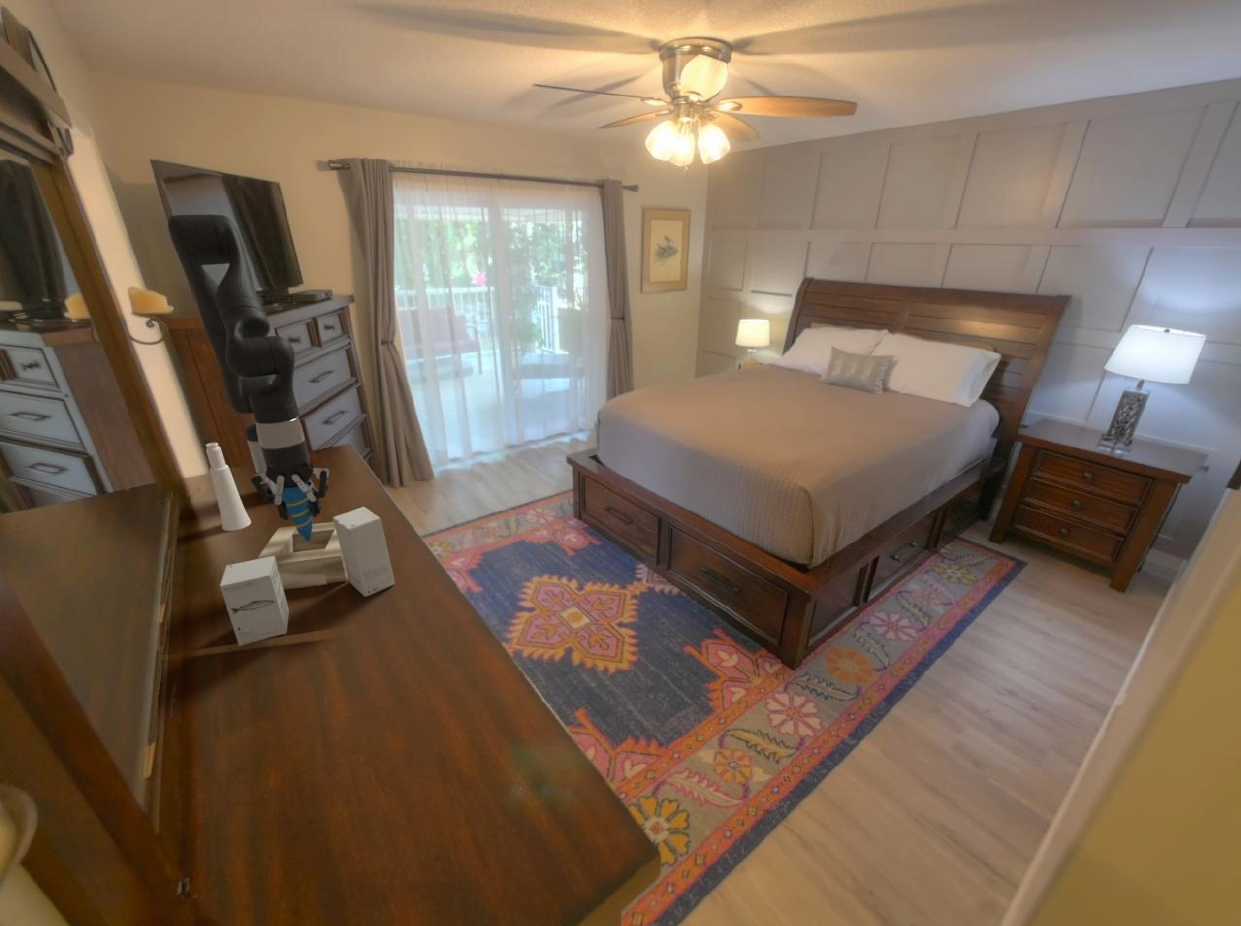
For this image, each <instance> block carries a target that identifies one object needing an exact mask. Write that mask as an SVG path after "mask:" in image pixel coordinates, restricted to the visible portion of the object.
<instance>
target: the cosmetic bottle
mask: <svg viewBox="0 0 1241 926" xmlns="http://www.w3.org/2000/svg"><path fill="white" fill-rule="evenodd" d="M205 447H206V449H205V451H206V454H207V458H208V461H209V464H210V465H209V466H210V468H209V473H210V477H211V482H212V485H213V489H214V492H215V495H216V500H217V501H216V502H217V504H218V509H219V514H220V520H221V529H222V530H223V531H226V532H232V531H238V530H242V529H245V528H246V527H249V526H250V525H251V523H252V520H251V519H250V517H249V515H248V513H247V511H246V508H245V507H244V504H243V501H242V499H241V497H240V494H239V491H238V488H237V485H236V483H235V480H234V478H233V475H232V472H231V469H230V467H229V465H228V464H226V461H225V458H224V455H223V452H222V448H221V447H220V446H219V443H218V442H210V443H207V444H205Z"/></svg>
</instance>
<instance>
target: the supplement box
mask: <svg viewBox="0 0 1241 926" xmlns="http://www.w3.org/2000/svg"><path fill="white" fill-rule="evenodd" d="M223 571H224V572H223V575H222V578H221V582H220V584H219V587H220V591H221V594H222V598H223V600H224V604H225V607H226V610H227V613H228V616H229V619H230V622H231V625H232V628H233V631H234V634H235V636H236V640H237V644H238V646H240V647H241V646H244V645H247V644H250V643H251V644H252V643H254V642H257V641H261V640H262V641H263V640H265V639H269V638H272V637H277V636H280V635H286V634H287V632H288V624H289V615H290V609H289V606H288V601H287V597H286V594H285V590H283V586H282V582H281V579H280V575H279V571H278V568H277V564H276V559H275V556H270V557H266V558H261V559H257V558H256V559H252V560H246V561H242V562H237V563H233V564H226V565H225V568H224V570H223Z"/></svg>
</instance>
